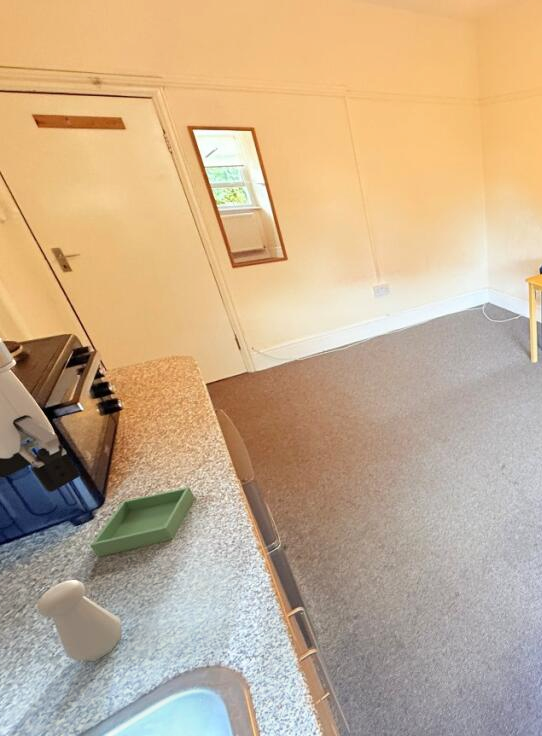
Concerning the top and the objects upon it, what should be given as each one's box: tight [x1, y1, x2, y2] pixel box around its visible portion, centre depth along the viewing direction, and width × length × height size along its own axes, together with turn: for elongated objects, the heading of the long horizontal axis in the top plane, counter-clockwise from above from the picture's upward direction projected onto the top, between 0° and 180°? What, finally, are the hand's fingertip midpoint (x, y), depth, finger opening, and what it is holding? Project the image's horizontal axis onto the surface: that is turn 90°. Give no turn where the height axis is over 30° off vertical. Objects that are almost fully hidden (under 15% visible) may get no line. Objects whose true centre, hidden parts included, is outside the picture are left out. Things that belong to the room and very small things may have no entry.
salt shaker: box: [36, 579, 123, 662], centre depth 56 cm, size 6×6×13 cm
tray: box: [89, 486, 196, 558], centre depth 79 cm, size 12×11×3 cm
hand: (40, 476), depth 53 cm, fingers open, 9 cm apart
